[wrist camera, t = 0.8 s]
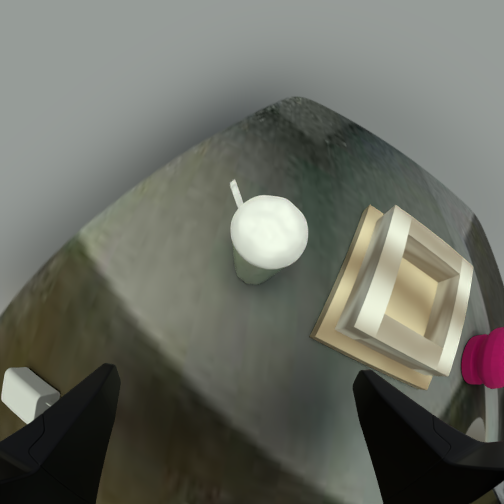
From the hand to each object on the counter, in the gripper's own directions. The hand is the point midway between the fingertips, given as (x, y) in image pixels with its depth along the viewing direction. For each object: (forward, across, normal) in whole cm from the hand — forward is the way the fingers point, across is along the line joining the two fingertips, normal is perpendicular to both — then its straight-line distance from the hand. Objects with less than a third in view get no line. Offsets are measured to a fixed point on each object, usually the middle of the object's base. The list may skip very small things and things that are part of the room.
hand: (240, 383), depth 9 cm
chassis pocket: (+13, -16, +4) cm, 21 cm away
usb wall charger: (+6, +17, +14) cm, 23 cm away
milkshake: (+15, -2, +2) cm, 15 cm away
